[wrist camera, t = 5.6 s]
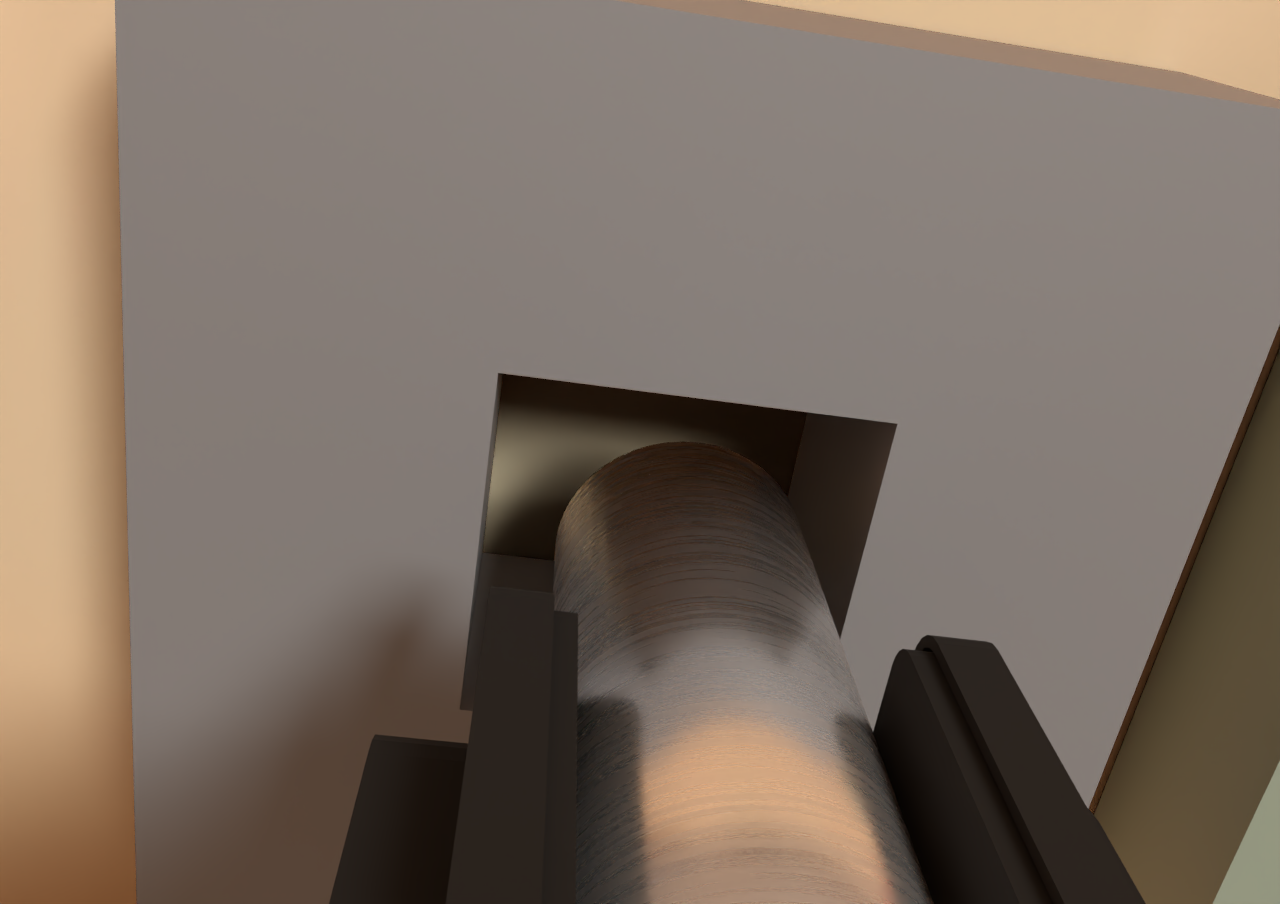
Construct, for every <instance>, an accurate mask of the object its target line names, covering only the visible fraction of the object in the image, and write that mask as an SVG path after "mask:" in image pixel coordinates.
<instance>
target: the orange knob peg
mask: <svg viewBox="0 0 1280 904" xmlns="http://www.w3.org/2000/svg"><path fill="white" fill-rule="evenodd" d="M553 593H554V594H555V600H554V610H555V611H564V612H573V613H578V705H577V825H576V904H934V903H933V901H932V898H931V895H930V892H929V889H928V887H927V884H926V881H925V878H924V875H923V872H922V870H921V867H920V864H919V861H918V858H917V855H916V853H915V850H914V847H913V844H912V841H911V839H910V836H909V833H908V830H907V827H906V824H905V822H904V819H903V816H902V813H901V810H900V807H899V805H898V802H897V799H896V796H895V793H894V791H893V788H892V785H891V782H890V779H889V776H888V774H887V771H886V768H885V765H884V762H883V759H882V757H881V754H880V751H879V748H878V745H877V743H876V740H875V737H874V734H873V731H872V728H871V726H870V723H869V720H868V717H867V714H866V711H865V709H864V706H863V703H862V700H861V697H860V695H859V692H858V689H857V686H856V683H855V680H854V678H853V675H852V672H851V669H850V666H849V664H848V661H847V658H846V655H845V652H844V649H843V647H842V644H841V641H840V638H839V635H838V632H837V630H836V627H835V624H834V621H833V618H832V616H831V613H830V610H829V607H828V604H827V601H826V599H825V596H824V593H823V590H822V587H821V584H820V582H819V579H818V576H817V573H816V570H815V568H814V565H813V562H812V559H811V556H810V553H809V551H808V548H807V545H806V542H805V539H804V536H803V534H802V531H801V528H800V525H799V522H798V520H797V517H796V514H795V511H794V509H793V507H792V505H791V503H790V501H789V499H788V497H787V496H786V494H785V493H784V491H783V490H782V488H781V487H780V486H779V484H778V483H777V482H776V481H775V480H774V479H773V478H772V477H771V476H770V475H769V474H768V473H767V472H766V471H765V470H763V469H762V468H761V467H760V466H758V465H757V464H755V463H754V462H752V461H751V460H749V459H748V458H746V457H744V456H742V455H740V454H737V453H735V452H733V451H731V450H728V449H725V448H721V447H718V446H715V445H709V444H704V443H697V442H667V443H661V444H655V445H650V446H646V447H643V448H640V449H637V450H633V451H631V452H629V453H627V454H624V455H622V456H620V457H618V458H616V459H614V460H613V461H611V462H609V463H608V464H606V465H604V466H603V467H602V468H601V469H599V470H598V471H597V472H595V473H594V474H593V475H592V476H591V477H590V478H589V479H588V480H587V481H586V482H585V483H584V484H583V485H582V486H581V487H580V488H579V490H578V491H577V492H576V494H575V495H574V496H573V498H572V499H571V501H570V503H569V504H568V506H567V508H566V510H565V512H564V514H563V517H562V519H561V522H560V525H559V528H558V533H557V537H556V545H555V562H554V583H553Z"/></svg>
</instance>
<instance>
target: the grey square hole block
mask: <svg viewBox="0 0 1280 904" xmlns="http://www.w3.org/2000/svg"><path fill="white" fill-rule="evenodd" d="M115 23H116V65H117V106H118V148H119V189H120V231H121V272H122V314H123V356H124V397H125V439H126V480H127V522H128V563H129V605H130V646H131V688H132V730H133V771H134V813H135V854H136V896H137V904H329V901H330V897H331V894H332V890H333V886H334V882H335V878H336V874H337V871H338V867H339V863H340V859H341V855H342V851H343V847H344V844H345V840H346V836H347V832H348V828H349V824H350V820H351V817H352V813H353V809H354V805H355V801H356V797H357V793H358V790H359V786H360V782H361V778H362V774H363V770H364V766H365V763H366V759H367V755H368V751H369V748H370V745H371V741H372V739H373V737H374V735H375V734H377V735H387V736H397V737H407V738H417V739H428V740H438V741H448V742H458V743H468V741H469V734H470V726H471V719H472V712H473V705H474V698H475V691H476V684H477V677H478V670H479V663H480V655H481V648H482V641H483V634H484V627H485V620H486V613H487V606H488V599H489V592H490V586H495V587H504V588H513V589H522V590H531V591H539V592H548V593H553V583H554V562H555V561H553V560H544V559H535V558H526V557H517V556H508V555H499V554H490V553H482V552H483V543H484V535H485V526H486V517H487V509H488V500H489V491H490V483H491V474H492V466H493V457H494V448H495V440H496V431H497V422H498V414H499V405H500V396H501V388H502V379H503V374H511V375H519V376H527V377H534V378H542V379H550V380H558V381H566V382H574V383H582V384H589V385H597V386H605V387H613V388H621V389H629V390H637V391H644V392H652V393H660V394H668V395H676V396H684V397H691V398H699V399H707V400H715V401H723V402H731V403H739V404H746V405H754V406H762V407H770V408H778V409H786V410H794V411H801V412H807V415H806V420H805V424H804V428H803V433H802V437H801V441H800V446H799V450H798V454H797V459H796V463H795V467H794V472H793V476H792V480H791V484H790V489H789V493H788V499H789V501H790V503H791V505H792V507H793V509H794V511H795V514H796V517H797V520H798V522H799V525H800V528H801V531H802V534H803V536H804V539H805V542H806V545H807V548H808V551H809V553H810V556H811V559H812V562H813V565H814V568H815V570H816V573H817V576H818V579H819V582H820V584H821V587H822V590H823V593H824V596H825V599H826V601H827V604H828V607H829V610H830V613H831V616H832V618H833V621H834V624H835V627H836V630H837V632H838V635H839V638H840V641H841V644H842V647H843V649H844V652H845V655H846V658H847V661H848V664H849V666H850V669H851V672H852V675H853V678H854V680H855V683H856V686H857V689H858V692H859V695H860V697H861V700H862V703H863V706H864V709H865V711H866V714H867V717H868V720H869V723H870V726H871V728H872V731H873V730H874V727H875V723H876V720H877V716H878V713H879V709H880V706H881V702H882V699H883V695H884V692H885V688H886V685H887V681H888V678H889V674H890V671H891V667H892V664H893V661H894V659H895V656H896V655H897V653H898V652H899V651H900V650H902V649H909V650H915V648H916V646H917V644H918V643H919V641H920V640H921V638H923V637H924V636H926V635H934V636H943V637H951V638H960V639H969V640H978V641H987V642H990V643H993V645H994V646H995V647H996V648H997V649H998V651H999V653H1000V654H1001V656H1002V658H1003V660H1004V661H1005V663H1006V665H1007V667H1008V669H1009V670H1010V672H1011V674H1012V676H1013V677H1014V679H1015V681H1016V683H1017V684H1018V686H1019V688H1020V690H1021V692H1022V693H1023V695H1024V697H1025V699H1026V700H1027V702H1028V704H1029V706H1030V707H1031V709H1032V711H1033V713H1034V715H1035V716H1036V718H1037V720H1038V722H1039V723H1040V725H1041V727H1042V729H1043V730H1044V732H1045V734H1046V736H1047V738H1048V739H1049V741H1050V743H1051V745H1052V746H1053V748H1054V750H1055V752H1056V753H1057V755H1058V757H1059V759H1060V760H1061V762H1062V764H1063V766H1064V768H1065V769H1066V771H1067V773H1068V775H1069V776H1070V778H1071V780H1072V782H1073V783H1074V785H1075V787H1076V789H1077V791H1078V792H1079V794H1080V796H1081V798H1082V799H1083V801H1084V803H1085V805H1086V806H1087V808H1089V806H1090V803H1091V801H1092V798H1093V796H1094V793H1095V791H1096V788H1097V786H1098V783H1099V781H1100V778H1101V776H1102V773H1103V770H1104V768H1105V765H1106V763H1107V760H1108V758H1109V755H1110V753H1111V750H1112V748H1113V745H1114V743H1115V740H1116V738H1117V735H1118V733H1119V730H1120V727H1121V725H1122V722H1123V720H1124V717H1125V715H1126V712H1127V710H1128V707H1129V705H1130V702H1131V700H1132V697H1133V695H1134V692H1135V689H1136V687H1137V684H1138V682H1139V679H1140V677H1141V674H1142V672H1143V669H1144V667H1145V664H1146V662H1147V659H1148V657H1149V654H1150V652H1151V649H1152V646H1153V644H1154V641H1155V639H1156V636H1157V634H1158V631H1159V629H1160V626H1161V624H1162V621H1163V619H1164V616H1165V614H1166V611H1167V608H1168V606H1169V603H1170V601H1171V598H1172V596H1173V593H1174V591H1175V588H1176V586H1177V583H1178V581H1179V578H1180V576H1181V573H1182V571H1183V568H1184V565H1185V563H1186V560H1187V558H1188V555H1189V553H1190V550H1191V548H1192V545H1193V543H1194V540H1195V538H1196V535H1197V533H1198V530H1199V528H1200V525H1201V522H1202V520H1203V517H1204V515H1205V512H1206V510H1207V507H1208V505H1209V502H1210V500H1211V497H1212V495H1213V492H1214V490H1215V487H1216V484H1217V482H1218V479H1219V477H1220V474H1221V472H1222V469H1223V467H1224V464H1225V462H1226V459H1227V457H1228V454H1229V452H1230V449H1231V447H1232V444H1233V441H1234V439H1235V436H1236V434H1237V431H1238V429H1239V426H1240V424H1241V421H1242V419H1243V416H1244V414H1245V411H1246V409H1247V406H1248V403H1249V401H1250V398H1251V396H1252V393H1253V391H1254V388H1255V386H1256V383H1257V381H1258V378H1259V376H1260V373H1261V371H1262V368H1263V366H1264V363H1265V360H1266V358H1267V355H1268V353H1269V350H1270V348H1271V345H1272V343H1273V340H1274V338H1275V335H1276V333H1277V330H1278V328H1279V325H1280V100H1279V99H1275V98H1272V97H1268V96H1264V95H1261V94H1257V93H1254V92H1250V91H1246V90H1243V89H1239V88H1236V87H1232V86H1228V85H1225V84H1221V83H1217V82H1214V81H1210V80H1207V79H1203V78H1199V77H1196V76H1192V75H1188V74H1185V73H1181V72H1175V71H1168V70H1162V69H1156V68H1150V67H1144V66H1138V65H1132V64H1126V63H1120V62H1114V61H1108V60H1102V59H1096V58H1090V57H1084V56H1078V55H1072V54H1065V53H1059V52H1053V51H1047V50H1041V49H1035V48H1029V47H1023V46H1017V45H1011V44H1005V43H999V42H993V41H987V40H981V39H975V38H969V37H962V36H956V35H950V34H944V33H938V32H932V31H926V30H920V29H914V28H908V27H902V26H896V25H890V24H884V23H878V22H872V21H865V20H859V19H853V18H847V17H841V16H835V15H829V14H823V13H817V12H811V11H805V10H799V9H793V8H787V7H781V6H775V5H769V4H762V3H756V2H750V1H744V0H115Z"/></svg>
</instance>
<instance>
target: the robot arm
mask: <svg viewBox="0 0 1280 904" xmlns="http://www.w3.org/2000/svg"><path fill="white" fill-rule="evenodd" d="M554 600H555V594H554V593H548V592H539V591H531V590H522V589H513V588H504V587H495V586H490V592H489V599H488V606H487V613H486V620H485V627H484V634H483V641H482V648H481V655H480V663H479V670H478V677H477V684H476V691H475V698H474V705H473V712H472V719H471V726H470V734H469V741H468V743H458V742H448V741H438V740H428V739H417V738H407V737H397V736H387V735H377V734H375V735H374V737H373V739H372V741H371V745H370V748H369V751H368V755H367V759H366V763H365V766H364V770H363V774H362V778H361V782H360V786H359V790H358V793H357V797H356V801H355V805H354V809H353V813H352V817H351V820H350V824H349V828H348V832H347V836H346V840H345V844H344V847H343V851H342V855H341V859H340V863H339V867H338V871H337V874H336V878H335V882H334V886H333V890H332V894H331V897H330V901H329V904H576V825H577V705H578V613H573V612H564V611H555V610H554ZM873 734H874V737H875V740H876V743H877V745H878V748H879V751H880V754H881V757H882V759H883V762H884V765H885V768H886V771H887V774H888V776H889V779H890V782H891V785H892V788H893V791H894V793H895V796H896V799H897V802H898V805H899V807H900V810H901V813H902V816H903V819H904V822H905V824H906V827H907V830H908V833H909V836H910V839H911V841H912V844H913V847H914V850H915V853H916V855H917V858H918V861H919V864H920V867H921V870H922V872H923V875H924V878H925V881H926V884H927V887H928V889H929V892H930V895H931V898H932V901H933V903H934V904H1146V903H1145V902H1144V900H1143V898H1142V896H1141V894H1140V893H1139V891H1138V889H1137V887H1136V886H1135V884H1134V882H1133V880H1132V879H1131V877H1130V875H1129V873H1128V872H1127V870H1126V868H1125V866H1124V865H1123V863H1122V861H1121V859H1120V858H1119V856H1118V854H1117V852H1116V851H1115V849H1114V847H1113V845H1112V844H1111V842H1110V840H1109V838H1108V837H1107V835H1106V833H1105V831H1104V830H1103V828H1102V826H1101V824H1100V823H1099V821H1098V820H1097V819H1096V818H1095V816H1094V815H1093V814H1092V812H1091V811H1090V810H1089V809H1088V808H1087V806H1086V805H1085V803H1084V801H1083V799H1082V798H1081V796H1080V794H1079V792H1078V791H1077V789H1076V787H1075V785H1074V783H1073V782H1072V780H1071V778H1070V776H1069V775H1068V773H1067V771H1066V769H1065V768H1064V766H1063V764H1062V762H1061V760H1060V759H1059V757H1058V755H1057V753H1056V752H1055V750H1054V748H1053V746H1052V745H1051V743H1050V741H1049V739H1048V738H1047V736H1046V734H1045V732H1044V730H1043V729H1042V727H1041V725H1040V723H1039V722H1038V720H1037V718H1036V716H1035V715H1034V713H1033V711H1032V709H1031V707H1030V706H1029V704H1028V702H1027V700H1026V699H1025V697H1024V695H1023V693H1022V692H1021V690H1020V688H1019V686H1018V684H1017V683H1016V681H1015V679H1014V677H1013V676H1012V674H1011V672H1010V670H1009V669H1008V667H1007V665H1006V663H1005V661H1004V660H1003V658H1002V656H1001V654H1000V653H999V651H998V649H997V648H996V647H995V646H994V645H993V643H990V642H987V641H978V640H969V639H960V638H951V637H943V636H934V635H926V636H924V637H923V638H921V640H920V641H919V643H918V644H917V646H916V648H915V650H909V649H902V650H900V651H899V652H898V653H897V655H896V656H895V659H894V661H893V664H892V667H891V671H890V674H889V678H888V681H887V685H886V688H885V692H884V695H883V699H882V702H881V706H880V709H879V713H878V716H877V720H876V723H875V727H874V730H873Z"/></svg>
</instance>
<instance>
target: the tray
mask: <svg viewBox="0 0 1280 904" xmlns="http://www.w3.org/2000/svg"><path fill="white" fill-rule="evenodd" d="M1094 816H1095V818H1096V819H1097V820H1098V821H1099V823H1100V824H1101V826H1102V828H1103V830H1104V831H1105V833H1106V835H1107V837H1108V838H1109V840H1110V842H1111V844H1112V845H1113V847H1114V849H1115V851H1116V852H1117V854H1118V856H1119V858H1120V859H1121V861H1122V863H1123V865H1124V866H1125V868H1126V870H1127V872H1128V873H1129V875H1130V877H1131V879H1132V880H1133V882H1134V884H1135V886H1136V887H1137V889H1138V891H1139V893H1140V894H1141V896H1142V898H1143V900H1144V902H1145V903H1146V904H1280V349H1279V352H1278V355H1277V357H1276V360H1275V362H1274V365H1273V367H1272V370H1271V372H1270V375H1269V377H1268V380H1267V382H1266V385H1265V387H1264V390H1263V392H1262V395H1261V397H1260V400H1259V402H1258V405H1257V407H1256V410H1255V412H1254V415H1253V417H1252V420H1251V422H1250V425H1249V427H1248V430H1247V432H1246V435H1245V437H1244V440H1243V442H1242V445H1241V447H1240V450H1239V452H1238V455H1237V457H1236V460H1235V462H1234V465H1233V467H1232V470H1231V472H1230V475H1229V477H1228V480H1227V482H1226V485H1225V487H1224V490H1223V492H1222V495H1221V497H1220V500H1219V503H1218V505H1217V508H1216V510H1215V513H1214V515H1213V518H1212V520H1211V523H1210V525H1209V528H1208V530H1207V533H1206V535H1205V538H1204V540H1203V543H1202V545H1201V548H1200V550H1199V553H1198V555H1197V558H1196V560H1195V563H1194V565H1193V568H1192V570H1191V573H1190V575H1189V578H1188V580H1187V583H1186V585H1185V588H1184V590H1183V593H1182V595H1181V598H1180V600H1179V603H1178V605H1177V608H1176V610H1175V613H1174V615H1173V618H1172V620H1171V623H1170V625H1169V628H1168V630H1167V633H1166V635H1165V638H1164V640H1163V643H1162V645H1161V648H1160V651H1159V653H1158V656H1157V658H1156V661H1155V663H1154V666H1153V668H1152V671H1151V673H1150V676H1149V678H1148V681H1147V683H1146V686H1145V688H1144V691H1143V693H1142V696H1141V698H1140V701H1139V703H1138V706H1137V708H1136V711H1135V713H1134V716H1133V718H1132V721H1131V723H1130V726H1129V728H1128V731H1127V733H1126V736H1125V738H1124V741H1123V743H1122V746H1121V748H1120V751H1119V753H1118V756H1117V758H1116V761H1115V763H1114V766H1113V768H1112V771H1111V773H1110V776H1109V778H1108V781H1107V783H1106V786H1105V788H1104V791H1103V793H1102V796H1101V799H1100V801H1099V804H1098V806H1097V809H1096V811H1095V814H1094Z"/></svg>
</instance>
